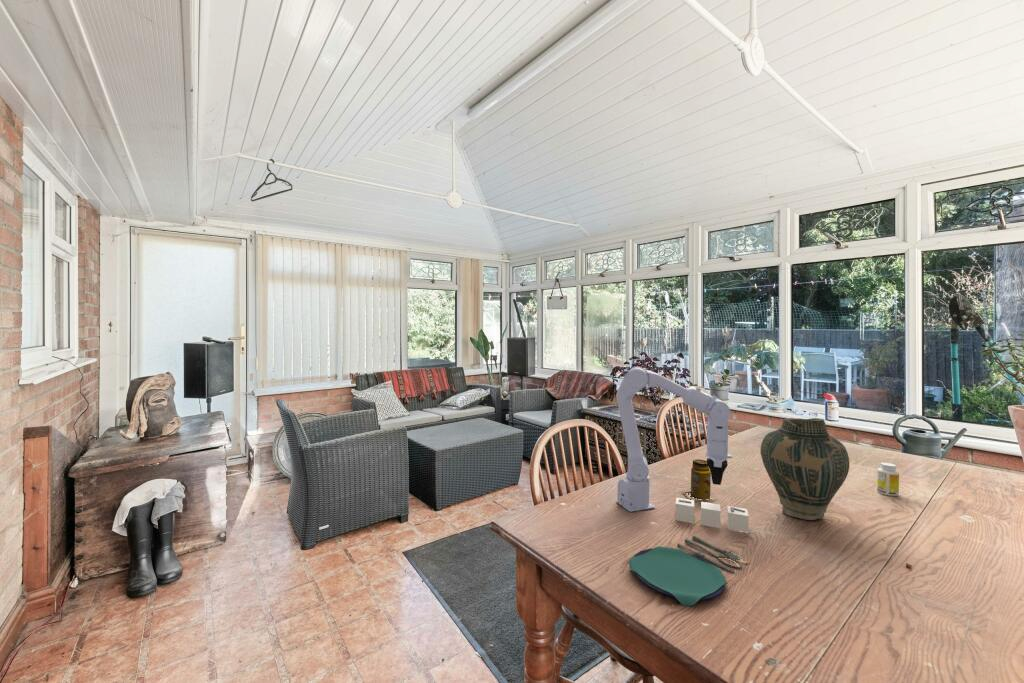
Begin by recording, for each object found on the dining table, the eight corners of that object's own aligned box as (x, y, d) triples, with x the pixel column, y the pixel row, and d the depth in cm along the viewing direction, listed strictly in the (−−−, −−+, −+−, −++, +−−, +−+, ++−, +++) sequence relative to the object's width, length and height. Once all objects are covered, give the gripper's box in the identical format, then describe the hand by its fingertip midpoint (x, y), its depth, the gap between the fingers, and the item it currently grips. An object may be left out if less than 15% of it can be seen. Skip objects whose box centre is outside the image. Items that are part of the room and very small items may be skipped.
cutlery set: (612, 570, 97) (612, 560, 97) (688, 537, 113) (688, 529, 113) (690, 621, 80) (690, 609, 80) (765, 573, 97) (766, 563, 97)
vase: (866, 535, 113) (869, 427, 113) (776, 527, 118) (778, 423, 117) (823, 503, 135) (825, 411, 134) (748, 497, 140) (750, 408, 139)
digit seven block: (748, 533, 114) (748, 515, 114) (728, 530, 116) (728, 511, 116) (746, 526, 119) (747, 508, 119) (727, 522, 121) (727, 505, 121)
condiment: (716, 500, 137) (716, 464, 137) (692, 501, 136) (692, 465, 136) (702, 491, 144) (703, 457, 144) (680, 492, 143) (680, 458, 143)
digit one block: (693, 523, 120) (693, 505, 120) (675, 520, 122) (675, 502, 122) (693, 516, 125) (694, 499, 125) (676, 513, 127) (676, 496, 127)
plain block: (720, 528, 117) (720, 511, 117) (701, 525, 119) (701, 508, 119) (719, 521, 122) (719, 504, 122) (701, 518, 124) (701, 501, 124)
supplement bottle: (900, 494, 143) (900, 464, 143) (897, 498, 140) (897, 468, 139) (878, 489, 147) (879, 460, 147) (875, 493, 144) (876, 463, 144)
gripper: (733, 447, 117) (733, 494, 118) (730, 435, 131) (729, 478, 131) (706, 444, 120) (705, 490, 121) (706, 433, 134) (705, 474, 134)
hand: (716, 483), depth 126 cm, fingers closed
